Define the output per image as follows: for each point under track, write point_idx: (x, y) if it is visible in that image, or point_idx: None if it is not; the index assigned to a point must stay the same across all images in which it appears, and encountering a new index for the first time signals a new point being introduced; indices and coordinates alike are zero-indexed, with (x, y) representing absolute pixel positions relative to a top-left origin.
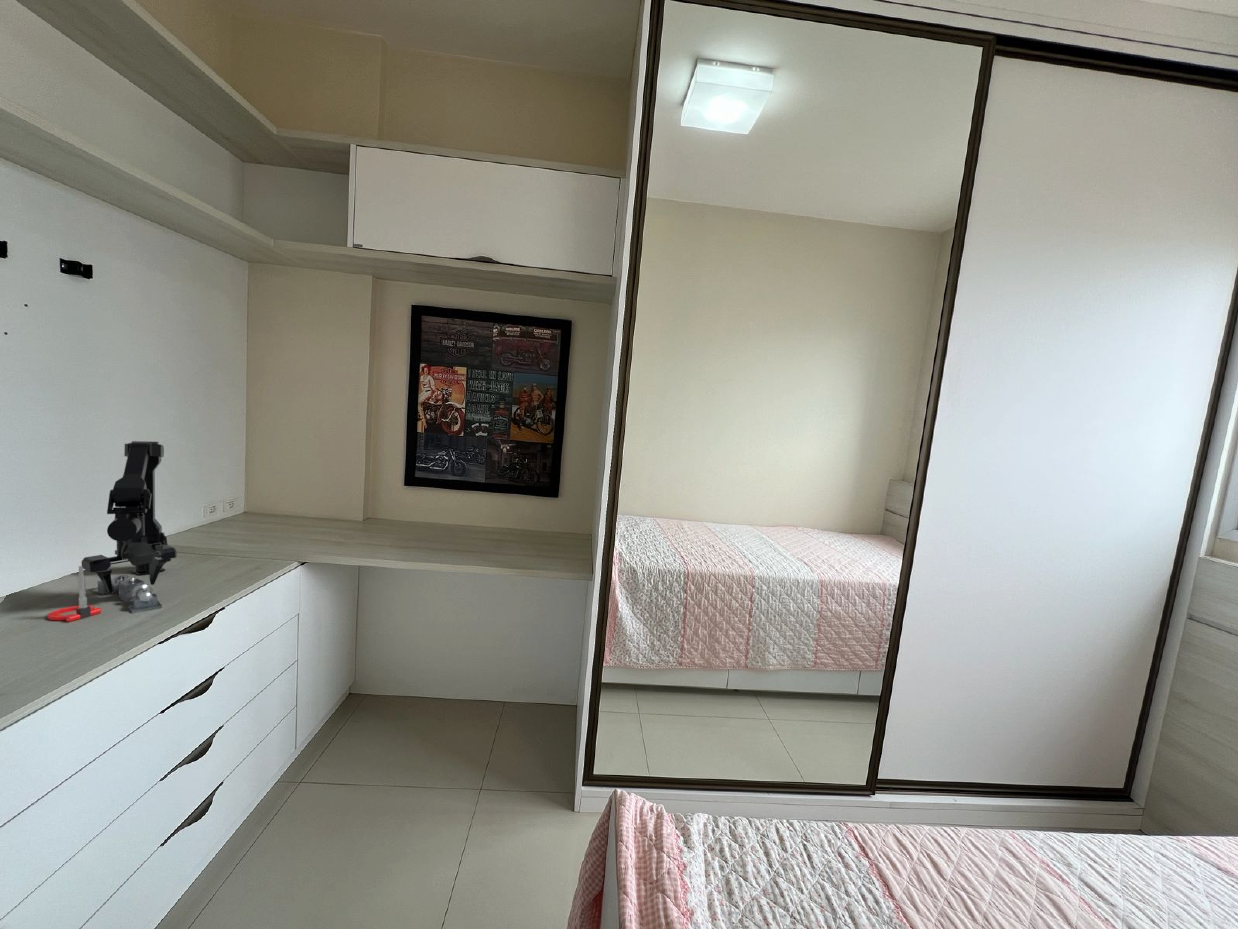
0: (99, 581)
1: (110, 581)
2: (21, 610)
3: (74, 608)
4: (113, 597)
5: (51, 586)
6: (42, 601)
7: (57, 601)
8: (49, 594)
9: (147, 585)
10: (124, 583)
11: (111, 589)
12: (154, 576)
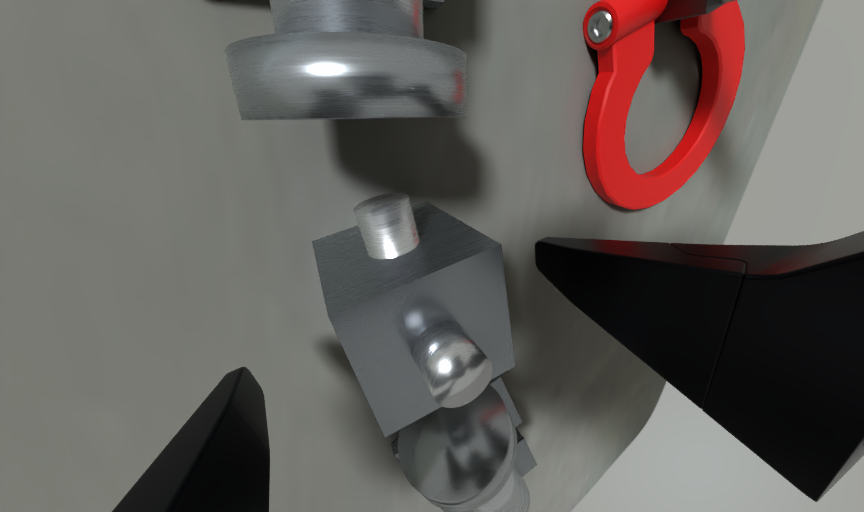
0: (532, 461)
1: (658, 256)
2: None
3: (639, 176)
4: None
5: (574, 482)
6: None
7: None
8: (601, 414)
9: (288, 33)
10: (495, 317)
11: (565, 245)
12: (195, 446)
